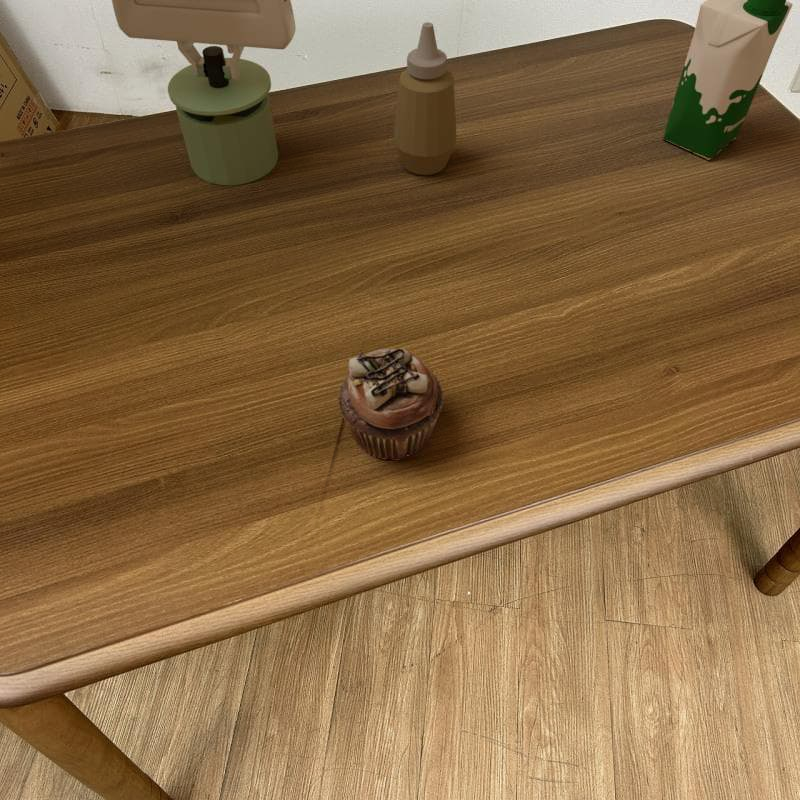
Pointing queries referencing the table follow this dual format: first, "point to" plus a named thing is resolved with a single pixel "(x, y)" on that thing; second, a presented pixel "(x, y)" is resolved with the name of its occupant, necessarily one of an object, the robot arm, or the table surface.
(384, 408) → the cupcake
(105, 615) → the table surface
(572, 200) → the table surface
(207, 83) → the lid
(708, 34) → the milk carton
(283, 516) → the table surface
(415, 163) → the squeeze bottle
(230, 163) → the tin
